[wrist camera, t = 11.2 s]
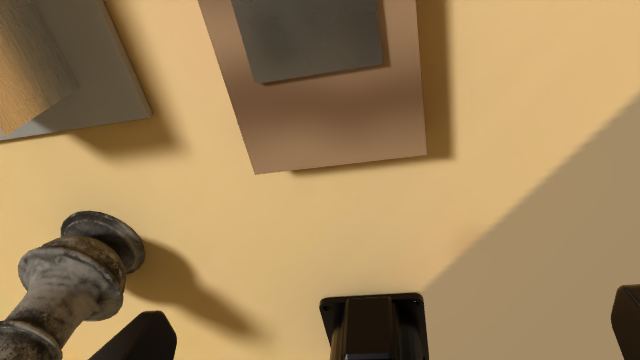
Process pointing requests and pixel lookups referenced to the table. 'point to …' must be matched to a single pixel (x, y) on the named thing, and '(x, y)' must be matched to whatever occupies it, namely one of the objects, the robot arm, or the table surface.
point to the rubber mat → (88, 71)
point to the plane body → (321, 79)
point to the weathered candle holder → (70, 285)
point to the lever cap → (29, 65)
